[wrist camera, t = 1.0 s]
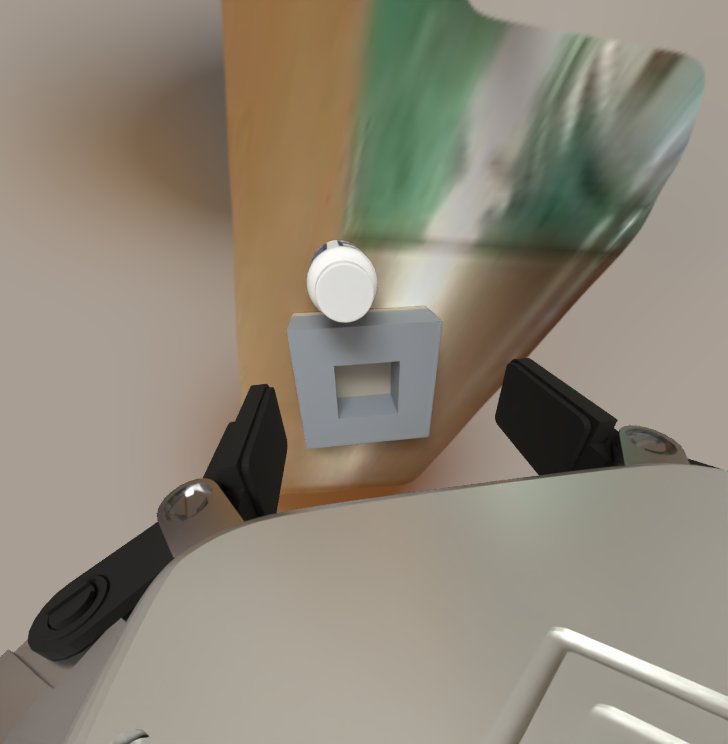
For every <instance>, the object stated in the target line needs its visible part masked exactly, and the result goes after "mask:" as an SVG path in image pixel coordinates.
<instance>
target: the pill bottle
mask: <svg viewBox="0 0 728 744" xmlns="http://www.w3.org/2000/svg"><path fill="white" fill-rule="evenodd" d="M307 289H308V293H309V296H310V298H311V300H312V302H313V304H314V305H315V306H316V307H317V309H318V310H320V311H321V312H322V313H323V314H325V315H326V316H327V317H328V318H330V319H332V320H334V321H337V322H345V323H346V322H352V321H355V320H358V319H360V318H361V317H362V316H364V315H365V314H366V313H367V312H368V310H369V309H370V307H371V305H372V302H373V300H374V298H375V296H376V292H377V275H376V272H375V269H374V267H373V265H372V263H371V262H370V260H369V259H368V258H367V257H366V255H365V254H363V253H362V252H361V251H360V250H359V249H358V248H357V247H356V246H355V245H353V244H351V243H349V242H347V241H342V240H334V241H330V242H327V243H325V244H324V245H322V246H321V247H320V248H319V249H318V250H317V251H316V252H315V254H314V256H313V258H312V260H311V264H310V267H309V270H308V275H307Z"/></svg>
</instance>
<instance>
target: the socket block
mask: <svg viewBox="0 0 728 744" xmlns="http://www.w3.org/2000/svg"><path fill="white" fill-rule="evenodd" d="M442 322H443V321H442V320H441V319H440V318H439V317H437V316H436V315H435V314H434V313H433V312H432V311H431V310H430V309H429V308H427V307H426V306H415V307H398V308H380V309H369V310H368V312H367V313H366V314H365V315H364V316H362V317H361V318H360V319H358V320H355V321H352V322H346V323H345V322H337V321H334V320H332V319H330V318H328V317H327V316H326V315H325V314H323V313H322V312H311V313H293V315H292V317H291V320H290V323H289V326H288V329H287V335H288V341H289V347H290V353H291V359H292V365H293V370H294V376H295V382H296V388H297V394H298V400H299V406H300V412H301V418H302V424H303V429H304V435H305V441H306V447H307V449H313V448H323V447H333V446H343V445H353V444H363V443H373V442H382V441H392V440H402V439H412V438H422V437H429V430H430V421H431V413H432V405H433V396H434V388H435V380H436V372H437V363H438V355H439V347H440V338H441V330H442Z"/></svg>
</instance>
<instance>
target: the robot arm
mask: <svg viewBox="0 0 728 744" xmlns="http://www.w3.org/2000/svg"><path fill="white" fill-rule="evenodd" d="M495 420H496V423H497V425H498V426H499V427H500V428H501V430H502V431H503V432H504V433H505V434H506V436H507V437H508V438H509V439H510V441H511V442H512V443H513V444H514V445H515V447H516V448H517V449H518V450H519V452H520V453H521V454H522V455H523V456H524V458H525V459H526V460H527V461H528V462H529V464H530V465H531V466H532V467H533V469H534V470H535V471H536V472H537V473H538V475H539V476H531V477H524V478H516V479H508V480H501V481H493V482H486V483H478V484H471V485H463V486H456V487H448V488H441V489H434V490H426V491H420V492H412V493H405V494H398V495H391V496H383V497H377V498H370V499H362V500H355V501H348V502H341V503H335V504H328V505H322V506H316V507H309V508H304V509H297V510H291V511H286V512H281V513H276V512H277V506H278V500H279V495H280V489H281V483H282V477H283V471H284V465H285V459H286V454H287V438H286V434H285V430H284V426H283V422H282V418H281V414H280V410H279V406H278V402H277V398H276V394H275V390H274V388H273V387H269V386H268V384H261V385H252V386H251V387H250V389H249V391H248V394H247V396H246V398H245V400H244V403H243V405H242V407H241V409H240V412H239V414H238V416H237V418H236V421H235V422H231V423H229V424H228V426H227V428H226V430H225V432H224V434H223V437H222V439H221V441H220V443H219V445H218V447H217V449H216V451H215V453H214V456H213V458H212V460H211V462H210V464H209V466H208V468H207V470H206V472H205V474H204V476H203V478H202V479H201V478H200V479H195V480H191V481H188V482H186V483H184V484H182V485H180V486H179V487H177V488H176V489H174V490H173V491H172V492H170V494H169V495H167V496H166V497H165V498H164V500H163V501H162V503H161V504H160V506H159V508H158V512H157V520H158V522H157V523H155V524H154V525H153V526H151V527H150V528H148V529H147V530H145V531H144V532H143V533H141V534H140V535H138V536H137V537H135V538H134V539H132V540H131V541H129V542H128V543H127V544H125V545H124V546H122V547H121V548H119V549H118V550H116V551H115V552H114V553H112V554H111V555H109V556H108V557H106V558H105V559H104V560H102V561H101V562H99V563H98V564H96V565H95V566H94V567H92V568H91V569H89V570H88V571H86V572H85V573H83V574H82V575H80V576H79V577H78V578H76V579H75V580H73V581H72V582H70V583H69V584H68V585H66V586H65V587H64V588H63V589H62V590H60V591H59V592H58V593H57V594H55V596H53V597H52V599H51V600H50V601H49V602H48V603H47V604H46V605H45V606H44V607H43V608H42V610H41V611H40V613H39V614H38V615H37V617H36V618H35V620H34V622H33V624H32V626H31V628H30V631H29V635H28V640H27V641H26V642H25V643H24V644H23V645H21V646H20V647H19V648H18V649H17V650H16V651H15V652H12V651H10V650H7V651H6V652H5V653H4V654H3V655H2V656H1V657H0V744H728V471H726V470H722V469H719V468H716V467H713V466H709V465H707V464H703V463H700V462H697V461H694V460H691V459H687V456H686V454H685V452H684V450H683V448H682V447H681V445H680V444H678V443H677V442H676V441H675V440H673V439H672V438H670V437H668V436H667V435H665V434H662V433H660V432H658V431H656V430H653V429H649V428H646V427H641V426H630V425H629V426H624V427H622V428H621V429H620V430H619V432H618V431H617V430H616V429H614V426H615V424H616V422H617V419H616V418H614V417H613V416H611V415H610V414H608V413H607V412H605V411H604V410H603V409H601V408H600V407H598V406H597V405H596V404H594V403H593V402H591V401H590V400H588V399H587V398H586V397H584V396H583V395H581V394H580V393H578V392H577V391H576V390H574V389H573V388H571V387H570V386H568V385H567V384H566V383H564V382H563V381H561V380H560V379H558V378H557V377H556V376H554V375H553V374H551V373H550V372H548V371H547V370H546V369H544V368H543V367H541V366H540V365H538V364H537V363H536V362H534V361H533V360H531V359H529V358H522V359H514V360H512V361H511V363H509V364H508V365H507V368H506V372H505V376H504V380H503V385H502V389H501V393H500V398H499V402H498V406H497V410H496V414H495ZM147 737H149V738H147Z"/></svg>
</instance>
